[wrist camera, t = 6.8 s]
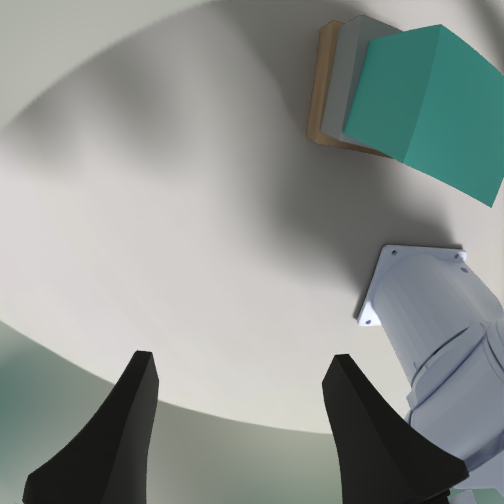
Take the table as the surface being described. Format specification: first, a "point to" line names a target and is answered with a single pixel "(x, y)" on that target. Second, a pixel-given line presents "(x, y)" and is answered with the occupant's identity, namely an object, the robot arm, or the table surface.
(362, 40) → the slate slab
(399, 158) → the teal block
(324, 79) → the walnut slab
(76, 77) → the table surface
